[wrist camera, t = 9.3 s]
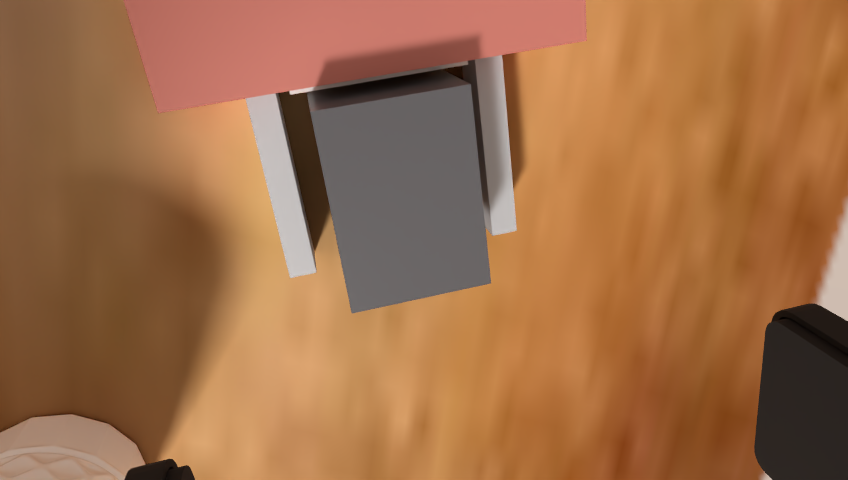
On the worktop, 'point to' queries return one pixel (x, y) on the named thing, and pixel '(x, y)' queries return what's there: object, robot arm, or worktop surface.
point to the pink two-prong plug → (343, 71)
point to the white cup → (66, 450)
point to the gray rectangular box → (403, 186)
